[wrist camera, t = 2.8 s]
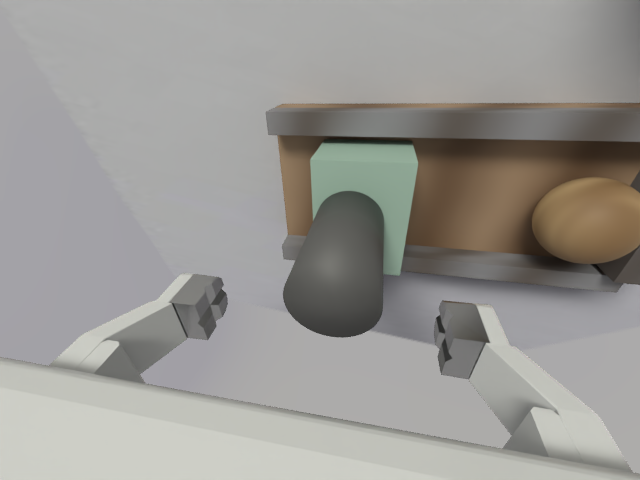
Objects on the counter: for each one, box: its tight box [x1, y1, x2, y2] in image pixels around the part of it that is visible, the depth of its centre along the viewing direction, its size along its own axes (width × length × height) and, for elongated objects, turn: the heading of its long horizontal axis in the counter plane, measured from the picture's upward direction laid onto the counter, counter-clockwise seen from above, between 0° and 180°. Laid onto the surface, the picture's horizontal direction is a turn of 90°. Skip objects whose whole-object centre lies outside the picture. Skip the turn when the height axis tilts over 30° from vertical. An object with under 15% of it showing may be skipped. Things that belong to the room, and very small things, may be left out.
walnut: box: [532, 177, 640, 264], centre depth 14 cm, size 4×4×4 cm
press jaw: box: [283, 139, 418, 337], centre depth 14 cm, size 5×7×10 cm
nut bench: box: [266, 103, 640, 292], centre depth 17 cm, size 22×10×4 cm, turn 91°
